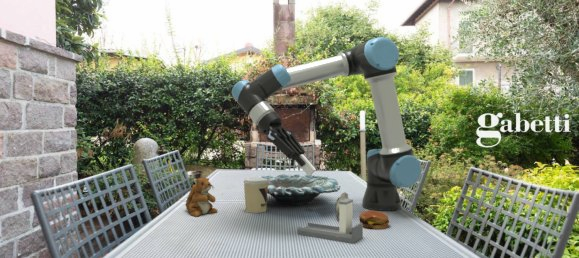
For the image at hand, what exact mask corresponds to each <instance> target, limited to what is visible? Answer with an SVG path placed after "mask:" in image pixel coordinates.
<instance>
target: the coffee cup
mask: <svg viewBox="0 0 579 258" xmlns="http://www.w3.org/2000/svg"><path fill="white" fill-rule="evenodd" d="M243 183H244V185H243V186H244V189H243V190H244V202H245V203H244V204H245V205H244V206H245V212H247V213H250V214H261V213H262V214H263V213H265V212H266V211H267V203H268V189H269V179H268V178H266V177H247V178H244V180H243Z"/></svg>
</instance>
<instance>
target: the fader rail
mask: <svg viewBox="0 0 579 258" xmlns="http://www.w3.org/2000/svg"><path fill="white" fill-rule="evenodd" d="M363 227H364V226H363V223H360V222H359V223H357V224H356V225H353V226H352V232H351V233H350V234H343V233H339V226H336V225H329V224H325V223H324V224H323V223H322V224H321V223H317V222H315V223H314V222H307V226H305V227H304V226H298V227H297V235H300V236H306V237H312V238H316V239H317V238H319V239H325V240H330V241H337V242H343V243H346V244H347V243H349V244H355V243H357V242H358V241H359V240H361V239H362V238H363V237H364V235H363V233H364V232H363V229H364V228H363Z"/></svg>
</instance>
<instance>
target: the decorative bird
mask: <svg viewBox="0 0 579 258" xmlns="http://www.w3.org/2000/svg"><path fill="white" fill-rule="evenodd" d="M344 199H350V198H349V194H348V193H347V192H345V191H344V192H341V194H340V196H339V197H337V199H336V202H335V205H334V206H335V207H334V208H335V209H334V211H335V214H336V216H337V219H338V220H339V201H341V200H344Z"/></svg>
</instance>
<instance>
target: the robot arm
mask: <svg viewBox="0 0 579 258" xmlns="http://www.w3.org/2000/svg"><path fill="white" fill-rule="evenodd" d="M399 60H400V52H399V48H398V46H397V44H396V43H395V42H394V41H393V40H391V39H390V38H388V37H384V36H383V37H382V36H379V37H373V38H371V39H369V40H366V41H365V42H362V43H358V45H355V46H354V47H352V48H349V49H347V50H344V51H340V52H338V53H337V55H335V56H330V57H327V58H323V59H319V60H314V61H310V62H306V63H303V64H299V65H298V64H297V65H294V66H291V67H285V66H284V65H282V64H281V63H278V64H275V65H274V66H272V67H271V68H269V69H268V70H267V71H265V72H263V73H262V74H259V75H257V76H256V77H255V79H254V80H252V81H249V80H248V79H242V80H239V81H238V82H236V83H235V85H234V86H233V87H232V89H231V96H232V98H234V100H235V101H236V102H237V104H238V105H239V106H240V108H241V109H242V110H243V111H244V112H245V113H246V114H247V115H248V116H249V117H250V119H251V120H252V123H254V124H255V125H256V126H257V128H258V129H259V130H260V131H261V133H262V134H263V135H266V136H267V137H266V139H267V140H268V141H269V142H270V143H272V144H273V145H274V146H275V147H276V148H277V149H278V150H279V151H280V152H282V154H284V156H286V158H287V159H289V160H290V161H291V162H292V163H293V162H296V163H297V165H298V166H299V167H300V168H301V169H302V171H304V173H305V174H306V175H307V176H308V177H311V176H312V175H313V174H314V173H315V172H316V171H317V169H316V167H314V165H313V163H311V162H310V160H309V159H308V158H307V157H306V156H305V155H304V154H305V153H306V151H305V149H304V147H302V145H301V143H300V142H299V139H297V138H296V136H295V133H294V132H293V131H292V130H290V131H288V130H287V129H286V128H285V127H284V126H283V125H282V122H283V119H282V118H281V117H280V115H279V114H278V113H277V112H276V111H275V110H274V108H273V106H272V105H270V104H269V103H268V101H267V100H268V99H269V98H270V97H272V96H273V95H274V94H276V93H277V92H281V91H284V90H290V89H292V88H296V87H301V86H304V85H308V84H312V83H316V82H320V81H324V80H329V79H331V78H332V79H333V78H336V77H339V76H342V77H344V78H347V77H349V76H350V77H351V76H357V75H363V79H364V81H366V82H367V83H369V87H370V92H371V97H372V101H373V106H374V113H375V116H376V121H377V126H378V131H379V137H380V141H381V146H382V148H378V149H377V148H375V149H373V148H372V149H370V150H368V151H367V155H366V189H365V192H364V195H363V197H362V200H361V201H362V202H361V206H362V207H363V208H364V209H368V210H371V211H383V212H384V211H385V212H386V211H387V212H388V211H397V210H401V208H402V201H401V197H400V194H399V190H398V187H399V188H409V187H411V186H412V187H413V186H414V185H415V184H416V183H417V182H418V180H419V179H420V177H421V175H422V171H423V170H422V169H423V168H422V163H421V161H420V160H419V159H418V158H417V157H416V156H414V152H413V148H412V146H411V145H410V144H408V143H407V139H406V135H405V129H404V125H403V120H402V119H403V118H402V115H401V111H400V110H401V109H400V105H399V99H398V94H397V89H396V83H395V79H394V78H395V77H396V75H397V73H398V71H397V64H398V62H399Z"/></svg>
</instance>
